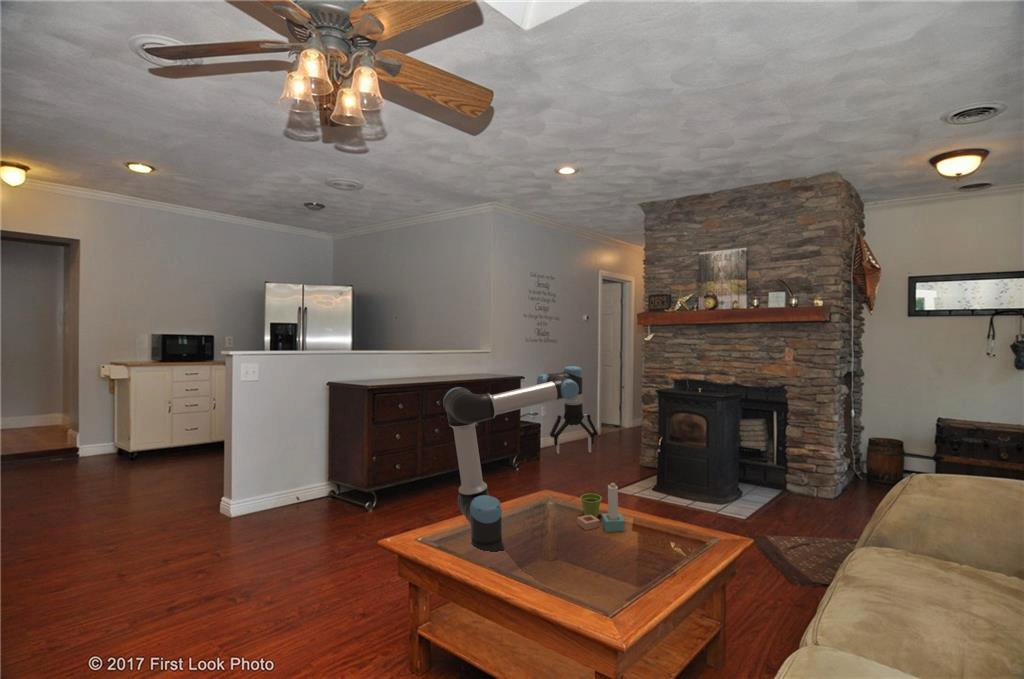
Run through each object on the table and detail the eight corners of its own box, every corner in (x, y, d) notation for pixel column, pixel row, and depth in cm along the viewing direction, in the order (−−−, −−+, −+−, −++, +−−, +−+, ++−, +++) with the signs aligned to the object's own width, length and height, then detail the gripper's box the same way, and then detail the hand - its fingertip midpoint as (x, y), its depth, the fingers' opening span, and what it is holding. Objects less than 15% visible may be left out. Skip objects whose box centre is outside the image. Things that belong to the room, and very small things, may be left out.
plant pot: (603, 520, 244) (603, 501, 243) (581, 521, 244) (581, 502, 243) (600, 511, 253) (600, 493, 252) (579, 512, 254) (579, 493, 253)
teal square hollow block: (605, 532, 233) (605, 521, 233) (601, 523, 241) (601, 513, 241) (624, 531, 234) (624, 520, 233) (619, 522, 242) (619, 512, 241)
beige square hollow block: (585, 530, 235) (585, 523, 235) (577, 523, 242) (577, 517, 241) (599, 527, 238) (599, 520, 238) (591, 520, 244) (591, 514, 244)
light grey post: (610, 529, 236) (609, 484, 233) (608, 525, 239) (607, 481, 237) (617, 528, 236) (617, 484, 234) (616, 525, 239) (615, 481, 237)
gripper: (545, 406, 230) (545, 455, 232) (604, 404, 231) (604, 453, 234) (543, 402, 237) (543, 450, 240) (600, 400, 239) (601, 448, 241)
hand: (573, 452), depth 237 cm, fingers open, 13 cm apart
